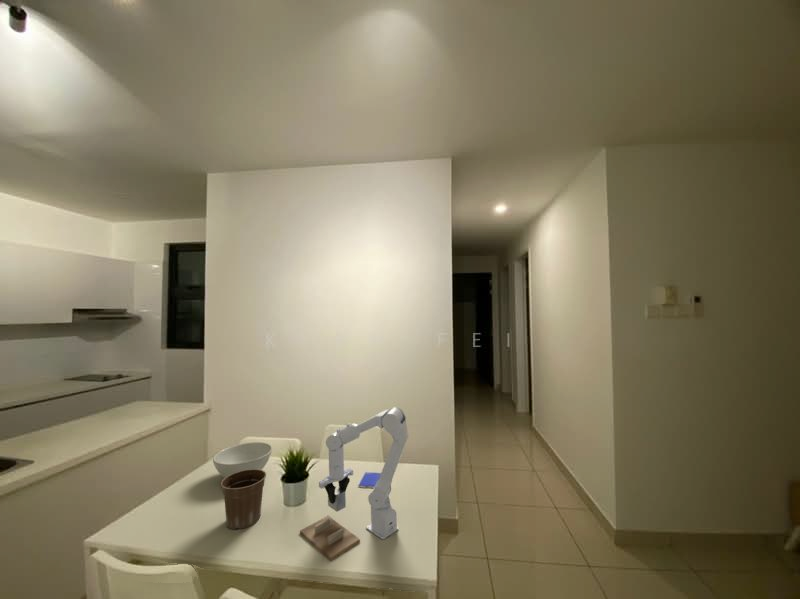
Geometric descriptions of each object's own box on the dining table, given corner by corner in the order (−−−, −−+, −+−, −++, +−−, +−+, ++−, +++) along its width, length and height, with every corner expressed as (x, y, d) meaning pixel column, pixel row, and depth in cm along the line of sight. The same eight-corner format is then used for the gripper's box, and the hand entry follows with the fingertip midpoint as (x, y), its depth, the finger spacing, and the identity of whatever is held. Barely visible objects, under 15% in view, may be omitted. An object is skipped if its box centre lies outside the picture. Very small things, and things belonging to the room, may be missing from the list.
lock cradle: (359, 541, 114) (359, 531, 115) (330, 560, 106) (330, 549, 106) (328, 518, 128) (327, 509, 129) (300, 533, 120) (299, 523, 120)
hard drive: (365, 472, 164) (358, 485, 151) (381, 472, 162) (375, 485, 150) (365, 475, 164) (358, 488, 151) (381, 476, 162) (375, 489, 150)
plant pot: (248, 503, 140) (248, 465, 141) (275, 513, 132) (274, 473, 133) (211, 525, 126) (211, 482, 126) (238, 538, 118) (238, 492, 119)
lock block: (345, 507, 125) (345, 491, 126) (336, 511, 123) (336, 495, 123) (336, 501, 130) (336, 485, 130) (327, 505, 127) (327, 489, 127)
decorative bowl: (199, 485, 157) (200, 459, 158) (245, 461, 182) (245, 439, 182) (240, 495, 147) (240, 468, 147) (283, 469, 171) (283, 445, 172)
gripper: (345, 455, 135) (346, 488, 134) (314, 467, 124) (314, 503, 124) (356, 460, 130) (356, 495, 129) (324, 473, 119) (324, 511, 119)
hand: (337, 500), depth 126 cm, fingers closed on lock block, 4 cm apart
